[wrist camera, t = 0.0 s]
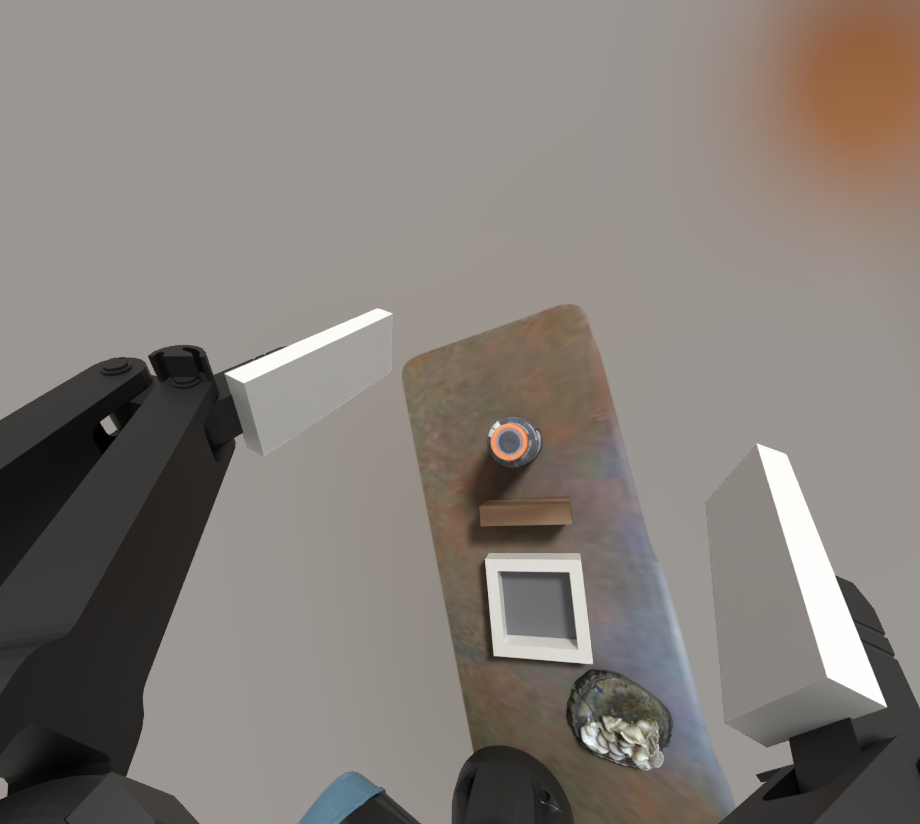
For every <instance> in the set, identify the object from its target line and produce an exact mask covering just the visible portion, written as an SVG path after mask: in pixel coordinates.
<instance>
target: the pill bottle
mask: <svg viewBox="0 0 920 824" xmlns="http://www.w3.org/2000/svg"><path fill="white" fill-rule="evenodd" d="M487 444H488V449H489V452H490V454H491V455H492V457H493V458H494V459H495V460H496V461H497V462H498V463H499V464H501V465H503V466H506V467H511V468H516V467H521V466H523V465H526V464H527V463H529V462H530V461H531V460H533V459H534V458H535V457H537V455H538V454H539V453H540V451H541V449H542V445H543V437H542V434H541V431H540V430H539V428H538V427H537V426H536V425H535V424H534V423H532V422H531V421H529V420H526V419H523V418H520V417H515V416H510V417H505V418H502V419H500V420H499V421H497V422H496V423H495V424H494V425H493V426H492V428H491V430H490V432H489V435H488V439H487Z"/></svg>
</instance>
